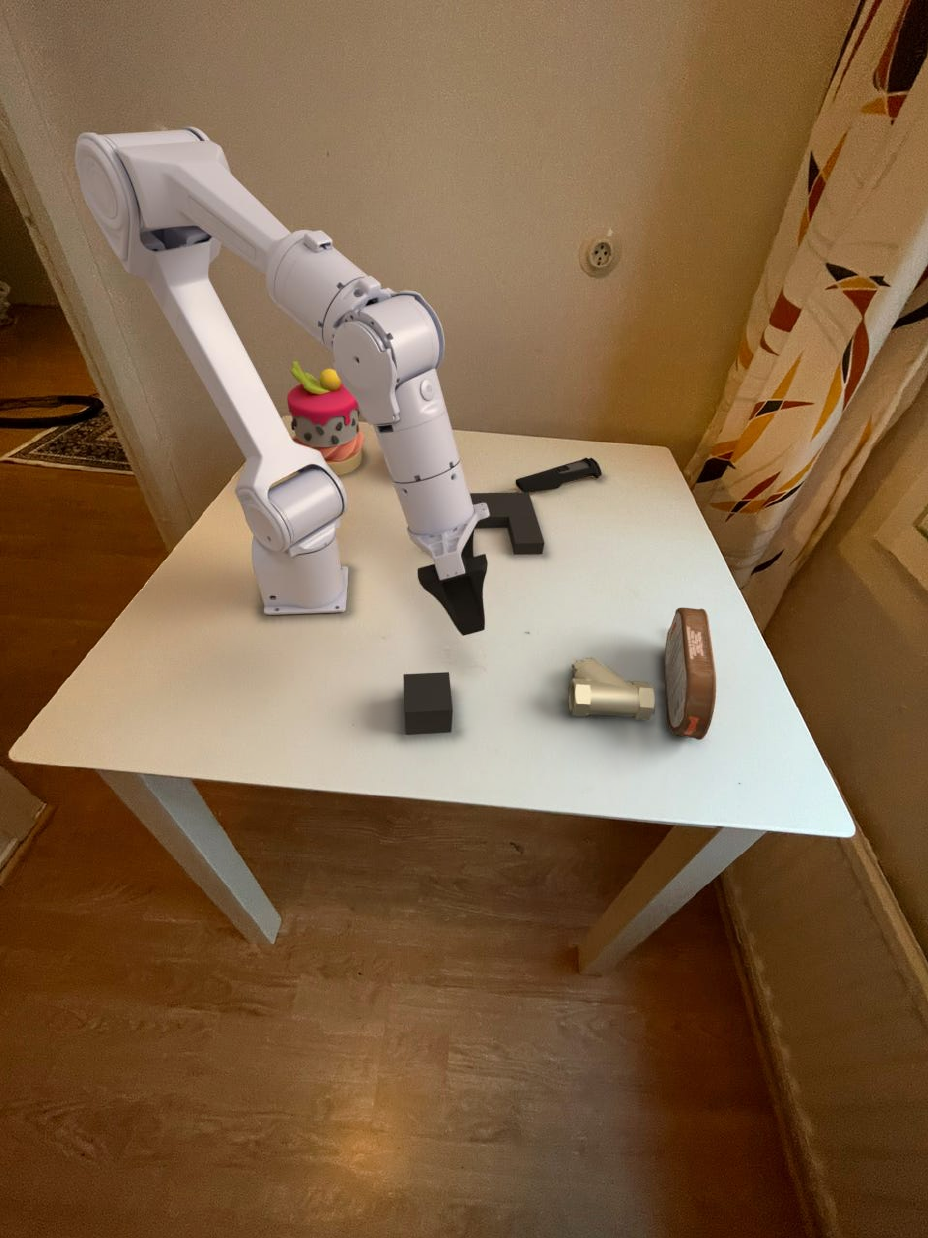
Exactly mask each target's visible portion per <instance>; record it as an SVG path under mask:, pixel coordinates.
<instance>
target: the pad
mask: <svg viewBox="0 0 928 1238" xmlns="http://www.w3.org/2000/svg"><path fill="white" fill-rule="evenodd" d="M450 677H451V676H450V672H449V671H444V672H443V671H442V672H424V673H423V672H421V673H404V674H403V677H402V678H403V707H404V709H403V710H404V727H405V735H407V736H409V735H424V734H425V735H427V734H442V733H444V734H445V733H452V731H453V729H452V728H453V715H454V713H453V712H454V711H453V710H454V708H453V699H452V687H451V678H450Z"/></svg>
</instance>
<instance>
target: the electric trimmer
mask: <svg viewBox="0 0 928 1238" xmlns="http://www.w3.org/2000/svg"><path fill="white" fill-rule="evenodd" d="M602 476H603V472H602V470H601V467H600V464H599V463H598V461H597V460H596V459H594V458H593V457H589V458H588V457H583V458H582V459H579V460H575V461H573V462H568V463H565V464H562V465H558V466H555V467H551V468H549V469H547V470H543V471H539V472H536V473H532V474H529V475H526V476H522V477H518V478H517V479H515V486H516V487H517V489H519V490H520V492H529V494H532V493H538V492H545V491H550V490H556V489H557V490H558V489H559V488H560V487H561V486H562V485H564V484H567V483H572V482H576V481H580V480H583V479H588V478H591V477H593V478H595V479H596V480H597V479H599V478H600V477H602Z"/></svg>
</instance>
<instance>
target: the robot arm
mask: <svg viewBox="0 0 928 1238" xmlns="http://www.w3.org/2000/svg"><path fill="white" fill-rule="evenodd" d="M74 162H75V163H74V164H75V169H76V173H77V177H78V181H79V184H80V190H81V194H82V197H83V199H84V202H85V204H86V206H87V208H88V209H89V211H90V213H91V215H92V216H93V218H94V220H95V221H96V223H97V225H98V227H99V229H100V230H101V232H102V234H103V236H104V238H105V239H106V240H107V242H108V244H109V246H110V247H111V249H112V251H113V253H114V254H115V256H116V257H117V258H118V261H119V262H120V263H121V265H122V267H123V269H124V270H125V272H126V273H127V274H129V275H130V276H134V277H136V278H138V279H140V280H143V281H145V284H146V285H147V287H148V289H149V291H150V293H151V294H152V296H153V297H154V300H155V301H156V304H157V305H158V307H159V308H160V310H161V312H162V313H163V316H164V318H165V319H166V321H167V323H168V325H169V326H170V327H171V330H172V331H173V334H174V335H175V337H176V339H177V340H178V342H179V344H180V346H181V347H182V350H183V351H184V352H185V355H186V356H187V358H188V360H189V361H190V364H191V365H192V367H193V368H194V370H195V372H196V374H197V376H198V377H199V379H200V381H201V382H202V385H203V386H204V388H205V390H206V392H207V393H208V395H209V397H210V399H211V401H212V402H213V404H214V406H215V407H216V409H217V411H218V413H219V415H220V417H221V418H222V420H223V421H224V424H225V425H226V427H227V429H228V430H229V432H230V434H231V436H232V437H233V440H234V441H235V443H236V445H237V447H238V448H239V450H240V451H241V454H242V455H243V457H244V459H245V464H244V466H243V469H242V471H241V474H240V476H239V479H238V481H237V483H236V486H235V489H234V493H235V495H236V498H237V500H238V502H239V504H240V506H241V509H242V511H243V515H244V518H245V522H246V524H247V526H248V528H249V530H250V532H251V533H252V534H253V536H252V541H251V562H252V568H253V572H254V575H255V580H256V582H257V586H258V589H259V593H260V595H261V598H262V599H261V600H262V602H263V605H264V607H263V613H264V615H266V616H272V615H275V616H277V615H300V614H301V615H302V614H327V613H328V614H331V613H344V612H346V610H347V598H348V583H349V570H350V569H349V567H348V566H346V565H341V558H340V551H339V544H338V538H337V537H338V536H337V530H338V529H339V528H340V527H341V522H340V520H341V519H340V517H342V516H344V515H346V513H347V511H348V508H349V507H348V506H349V500H348V494H347V491H346V488H345V486H344V483H343V482H342V480H341V478H339V475H338V476H337V475H336V474H335V473H334V472H333V471H332V470H331V469H330V467H329V466H328V465H327V463H326V462H325V460H324V458H323V456H322V454H321V452H320V451H318V450H316V449H313V448H310V447H307V446H304V445H301V444H298V443H296V442H295V441H294V440H292V439H293V438H292V436H291V435H290V433H289V430H288V429H287V427H286V425H285V423H284V421H283V419H282V417H281V415H280V413H279V412H278V410H277V407H276V405H275V403H274V402H273V400H272V398H271V396H270V394H269V393H268V391H267V389H266V387H265V384H264V383H263V381H262V378H261V377H260V375H259V372H258V371H257V369H256V367H255V366H254V363H253V362H252V359H251V357H250V356H249V354H248V352H247V349H246V348H245V346H244V344H243V343H242V341H241V338H240V337H239V335H238V332H237V330H236V329H235V327H234V325H233V323H232V321H231V320H230V318H229V315H228V313H227V311H226V309H225V308H224V306H223V304H222V302H221V300H220V298H219V296H218V294H217V292H216V291H215V288H214V286H213V284H212V283H211V280H210V278H209V268H210V264H211V263H212V262H213V261H214V260H215V259H216V258H217V257H218V256H219V254H220V251H221V246H222V245H223V246H224V247H225V248H227V249H228V250H230V251H231V252H233V253H234V254H235V255H237V256H238V257H239V258H241V259H242V260H244V261H245V262H246V263H248V264H249V265H250V266H251V267H253V268H254V269H256V270H257V271H259V272H260V273H261V274H263V275H264V276H265V283H266V289H267V293H268V295H269V298H270V299H271V301H272V302H273V304H275V305H276V306H277V307H278V308H279V309H280V310H282V311H283V312H284V313H285V314H286V315H287V316H288V317H289V318H291V319H292V320H293V321H294V322H296V323H297V325H299V326H300V327H301V328H302V329H304V330H305V331H306V332H307V333H308V334H310V335H311V336H312V337H313V338H314V339H315V340H316V341H318V343H320V344H321V345H322V346H324V347H325V348H326V349H327V350H328V351H329V352H330V353H331V354H332V355H333V358H334V362H332V367H333V370H335V371H336V373H337V375H338V377H339V379H340V381H341V382H342V384H343V385H344V386H345V388H346V389H347V390H348V391H349V392H350V393H351V394H352V395H353V397H354V398H355V399H356V401H357V403H358V407H359V411H360V414H361V416H362V418H363V419H365V420H366V423H367V424H368V425H369V426H371V425H372V426H373V430H374V432H375V436H376V438H377V441H378V444H379V447H380V450H381V453H382V455H383V458H384V461H385V464H386V466H387V470H388V472H389V475H390V478H391V481H392V485H393V487H394V491H395V492H396V495H397V498H398V501H399V505H400V507H401V510H402V512H403V515H404V518H405V521H406V524H407V527H406V532H407V535H408V537H409V539H410V541H411V542H413V543H414V544H415V545H416V546H417V547H418V548H420V549H421V550H422V551H423V552H424V553H425V554H427V556H429V557H430V558H431V559H432V561H433V563H432V564H429V565H425V566H421V567H417V579H418V583H419V584H420V586H421V587H422V588H423V590H424V591H426V592H427V593H429V594H430V595H432V597H434V599H436V601H437V602H438V603H440V605H441V606H442V608H444V611H445V612H446V614H447V616H448V617H449V618H450V620H451V622H452V623H453V625H454V626H455V628H456V629H457V631H458V632H459V633H460V635H461V636H463V637H464V636H469V635H472V634H476V633H479V632H483V631H485V629H486V615H485V607H484V606H485V604H484V584H485V579H486V576H487V574H488V573H487V572H488V566H489V562H488V558H487V554H486V553H483V554H479V555H476V556H474V555H475V554H474V537H475V536H474V535H475V525H476V524H477V522H478V521H479V520H482V519H485V518H487V517H489V515H490V513H489V510H488V506H487V504H486V503H479V504H475V505H473V504H472V500H471V497H470V493H471V492H470V490H469V486H468V482H467V479H466V475H465V472H464V467H463V464H462V461H461V456H460V452H459V450H458V445H457V442H456V438H455V435H454V431H453V427H452V424H451V421H450V417H449V413H448V410H447V406H446V402H445V399H444V395H443V391H442V388H441V384H440V380H439V376H438V373H437V370H438V369H439V368H440V366H441V364H442V362H443V360H444V357H445V349H446V343H445V334H444V329H443V327H442V323H441V321H440V318H439V316H438V314H437V313H436V312H435V310H434V308H433V307H432V306H431V305H430V304H429V303H428V302H427V301H426V300H425V298H424V297H423V295H422V294H421V293H419V292H417V291H414V290H410V289H404V290H400V291H394V290H393V289H391V288H390V287H386V288H383V286H382V284H381V282H380V281H378V280H377V279H376V278H374V276H372V275H368V274H366V273H365V272H364V271H363V270H362V269H361V268H360V267H358V266H357V265H356V264H355V263H353V261H351V260H350V259H348V258H347V257H346V256H345V255H344V254H342V253H341V252H340V251H339V250H338V249H336V247H334V246H333V242H334V241H333V238H331V237H330V236H329V235H327V233H325V231H323V230H322V229H319V230H314V231H313V230H311V229H299V230H295V231H293V232H291V231H290V230H289V229H288V228H287V227H286V226H284V224H283V223H282V222H281V221H280V220H279V219H277V218H276V216H274V215H273V213H271V212H270V211H269V209H268V208H266V206H264V205H263V204H262V203H261V202H260V201H259V200H258V199H257V198H256V197H255V196H254V195H253V194H252V193H251V191H249V190H248V189H247V188H246V187H245V186H244V185H243V184H242V183H241V182H240V181H239V180H238V179H237V178H236V177H235V176H234V175H232V172H231V169H230V165H229V162H228V160H227V158H226V154H225V152H224V150H223V148H222V147H221V145H219V144H217V143H216V142H214V141H212V140H211V139H210V138H209V137H208V136H207V134H206V133H204V132H203V131H202V130H201V129H200V128H197V127H196V126H191V125H190V126H181V128H180V129H171V130H157V131H156V130H154V131H139V132H138V131H137V132H124V133H108V134H105V133H104V134H97V133H96V132H86V131H85V132H82V133H81V134H79V135H78V137H77V140H76V144H75V151H74ZM295 472H298V473H297V474H295V475H293V476H291V477H289V478H287V479H286V480H283V481H281V482H280V483H278V484H276V485H274V484H275V483H277V482H278V481H280V480H282V479H284V478H286V477H288V476H290V475H291V474H293V473H295ZM272 485H274V486H272ZM271 486H272V487H271Z"/></svg>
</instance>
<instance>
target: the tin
mask: <svg viewBox="0 0 928 1238" xmlns="http://www.w3.org/2000/svg"><path fill="white" fill-rule="evenodd" d="M664 680H665V681H664V682H665V683H664V684H665V695H666V697H665V699H666V713H667V714H666V715H667V724H668V727H669V729H670V730H669V731H670V732H671V733H672V734H674V735H676V736H679V737H685V738H690V739H695V740H697V741H698V740H699V741H700V740H702V739H704V738H705V737H706V735H707V734H708V732H709V729H710V727H711V723H712V720H713V717H714V712H715V707H716V701H717V700H716V698H717V673H716V666H715V658H714V652H713V644H712V637H711V630H710V622H709V616H708V612H707V611H706V610H705V609H704V608H693V607H678V608H676V609H675V611H674V616H673V618H672V622H671V624H670V627H669V628H668V630H667V634H666V640H665V649H664Z"/></svg>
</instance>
